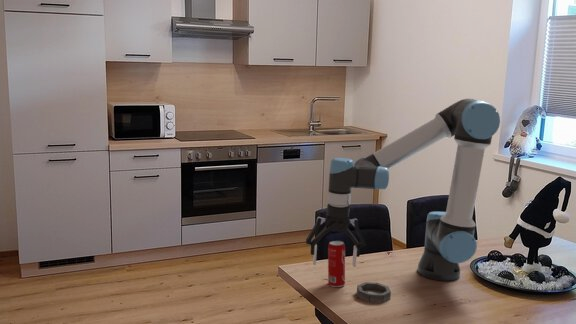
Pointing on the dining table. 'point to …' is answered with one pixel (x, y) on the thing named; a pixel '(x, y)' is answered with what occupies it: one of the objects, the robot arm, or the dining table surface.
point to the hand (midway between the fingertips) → (334, 264)
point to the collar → (373, 292)
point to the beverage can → (336, 263)
